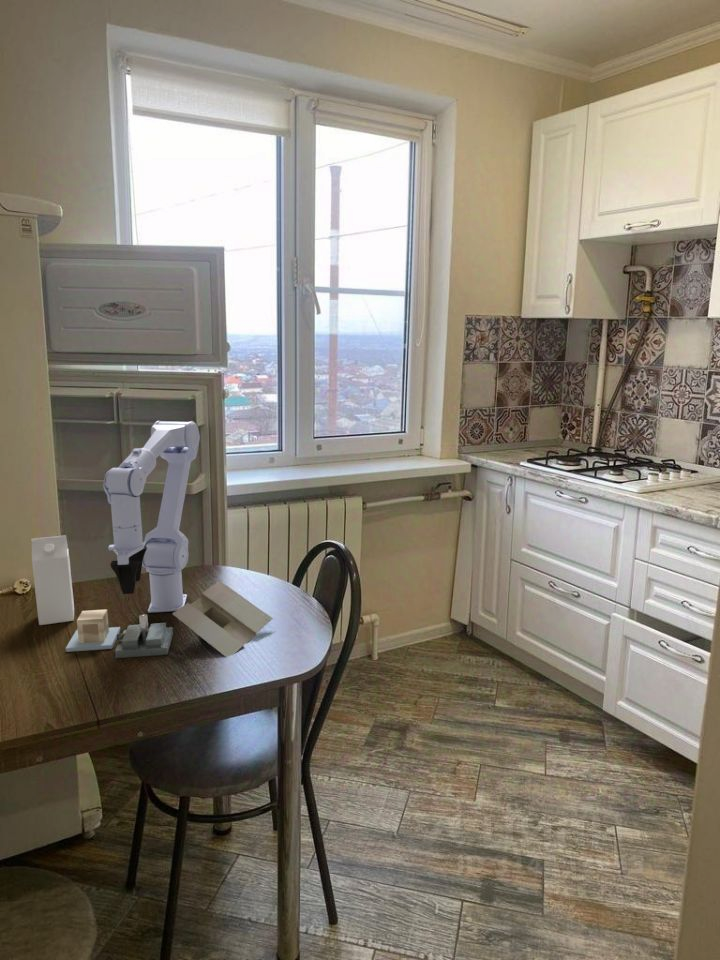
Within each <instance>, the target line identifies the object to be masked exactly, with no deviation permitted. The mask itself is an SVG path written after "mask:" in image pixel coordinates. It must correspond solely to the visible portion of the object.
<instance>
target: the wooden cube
mask: <svg viewBox="0 0 720 960" xmlns="http://www.w3.org/2000/svg"><path fill="white" fill-rule="evenodd" d="M76 625H77V626H76V627H77V628H76V629H77V630H78V638H79V643H89V642H103V641H105V639H106V637H107V635H108V632H109V628H110V627H109V616H108V609H94V610H93V609H92V610H89V609H88V610H81V613H80V614H79V616H78V617H77V619H76Z"/></svg>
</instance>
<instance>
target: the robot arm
mask: <svg viewBox="0 0 720 960" xmlns="http://www.w3.org/2000/svg"><path fill="white" fill-rule="evenodd" d="M200 438H201V435H200V430H199V427H198V425H197V424H196V422H195V421H193V420H191V421H165V420H163V421H162V420H157V421H155V422H154V423H153V425H152V426H151V428H150V437H149V439H148V440H147V441H146V443H145V444H144V446H143V447H140V448H139V447H138V448H135V447H134V448H133V450H132V451H131V453H130V454H128V456H127V457H126V458H125V459H124V460H123V461H122V462H121V463H120V464H119V466H118V467H112V468H111V469H109V470H107V472H106V473H105V474H104V477H103V484H102V486H103V487H102V488H103V490H104V493H105V494H106V497H107V502H108V504H109V505H110V509H111V522H112V535H113V544H109V546H108V547H107V549H108V551H113V552H114V553H115V555H116V556H117V557H116V559H117V560H111V562H110V568H111V569H112V570H113V572H114V573H115V575H116V578H117V581H118V583H119V586H120V589H121V592H122V594H123V595H130V594H131V595H132V594H134V593H135V589H136V582H140V580H141V576H142V568H145V569H146V570H145V571H146V573H149V585H150V586H149V587H150V588H149V589H150V601H151V602H150V604H149V606H148V609H147V612H148V613H152V614H153V613H164V612H165V613H166V612H168V613H169V612H175V611H177V610H178V609H179V608H181V607H183V606H184V605H186V602H187V597H188V595H187V594H186V593H183V590H184V589H183V577H182V570H183V569H185V567H186V566H187V563H188V561H189V539H188V538H187V537H186V535H185V534H184V533H183V532H182V531H180V526H181V522H182V521H181V520H182V515H183V508H184V502H185V498H186V492H187V486H188V481H189V474H190V470H191V464H192V461H194V460H195V459H197V454H198V451H199V444H200ZM158 457H160V458H161V459H163V460H165V461H166V462H167V463H168V464H167V465H168V466H167V471H166V476H165V481H164V482H165V483H164V486H163V487H164V488H163V492H162V498H161V504H160V508H159V514H158V518H157V524H156V525H157V526H156V527H154V529H152V530H150V531H149V532H147V533H146V534H145V537H144V539H143V526H142V525H143V524H142V513H141V500H140V499H141V497H140V495H142V494H143V492H144V488H145V485H146V482H147V477H148V476H149V475H150V474H151V472H153V470H155V468H156V466H157V458H158Z"/></svg>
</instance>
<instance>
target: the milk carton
mask: <svg viewBox="0 0 720 960" xmlns="http://www.w3.org/2000/svg"><path fill="white" fill-rule="evenodd" d="M67 538H68V537H67V535H58V536H47V537H36V538H31V540H30V541H31V564H32V573H33V575H32V576H33V583H34V592H35V600H36V609H37V619H38V625H39V626H44V625H51V624H57V623H66V622H72V621H74V619H75V603H74V593H73V582H72V575H71V574H72V572H71V561H70V553H69V546H68V540H67Z"/></svg>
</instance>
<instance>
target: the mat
mask: <svg viewBox="0 0 720 960" xmlns="http://www.w3.org/2000/svg"><path fill="white" fill-rule="evenodd" d="M120 633H121V626H114V627H109V632H108V635H107V637H106V639H105V641H103V642H89V643H79V638H78V629H75V631H74V634H73V635H72V637H71V638H70V640H69V641H68V644H67V645H66V647H65V652H66V653H68V652H69V653H70V652H80V651H81V652H82V651H85V652H86V651H98V650H112V649H113V648H114V646H115V643H116V641H117V634H120Z"/></svg>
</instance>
